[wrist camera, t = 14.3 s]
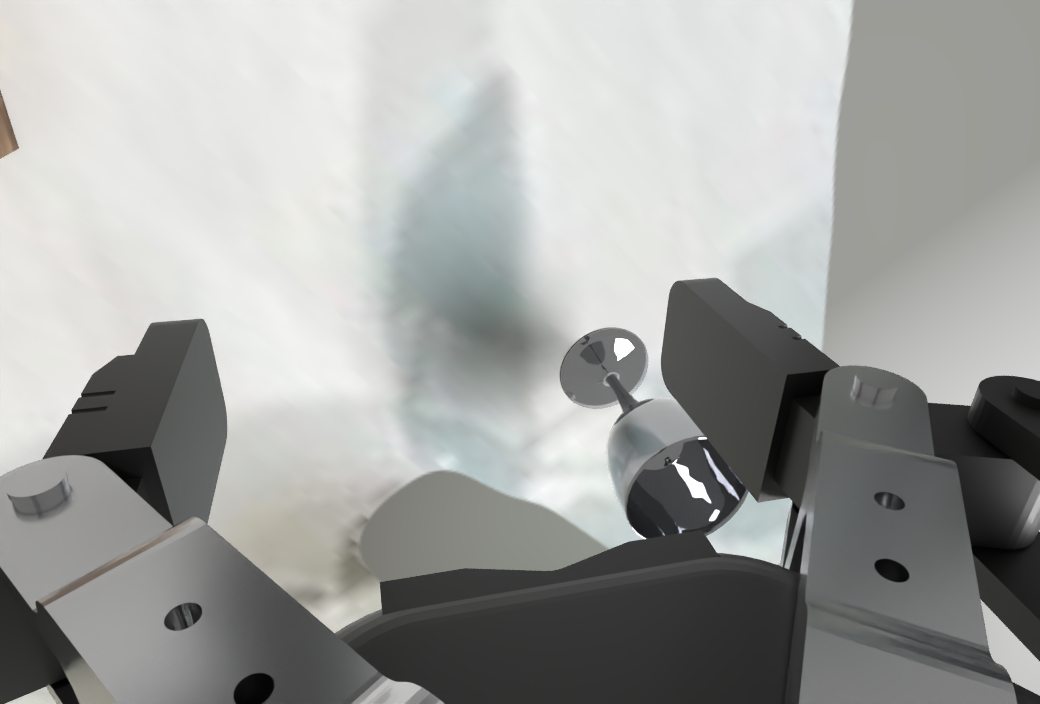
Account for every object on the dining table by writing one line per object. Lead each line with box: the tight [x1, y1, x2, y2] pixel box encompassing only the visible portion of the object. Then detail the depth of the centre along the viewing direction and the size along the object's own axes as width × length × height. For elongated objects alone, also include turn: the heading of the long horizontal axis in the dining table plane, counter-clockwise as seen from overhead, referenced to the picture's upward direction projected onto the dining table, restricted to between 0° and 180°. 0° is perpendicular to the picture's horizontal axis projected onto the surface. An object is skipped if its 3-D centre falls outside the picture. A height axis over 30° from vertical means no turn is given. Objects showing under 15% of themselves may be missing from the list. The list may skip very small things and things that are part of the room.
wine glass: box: [560, 328, 749, 539], centre depth 47 cm, size 8×8×15 cm
